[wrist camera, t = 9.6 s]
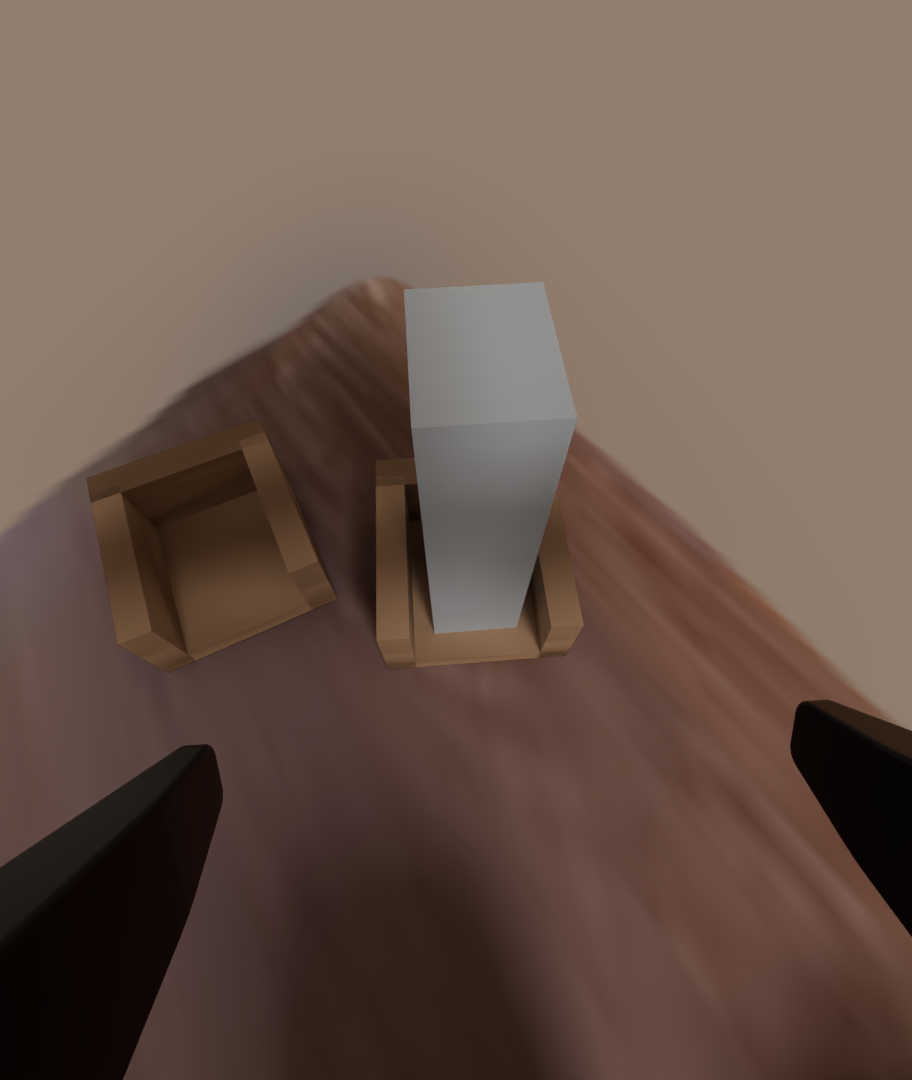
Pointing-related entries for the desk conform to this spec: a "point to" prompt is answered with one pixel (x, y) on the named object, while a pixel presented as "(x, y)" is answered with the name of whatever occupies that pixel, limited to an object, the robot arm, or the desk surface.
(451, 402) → the slat
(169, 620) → the end cap
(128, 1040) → the robot arm
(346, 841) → the desk surface
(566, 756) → the desk surface
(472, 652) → the end cap
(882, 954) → the desk surface
